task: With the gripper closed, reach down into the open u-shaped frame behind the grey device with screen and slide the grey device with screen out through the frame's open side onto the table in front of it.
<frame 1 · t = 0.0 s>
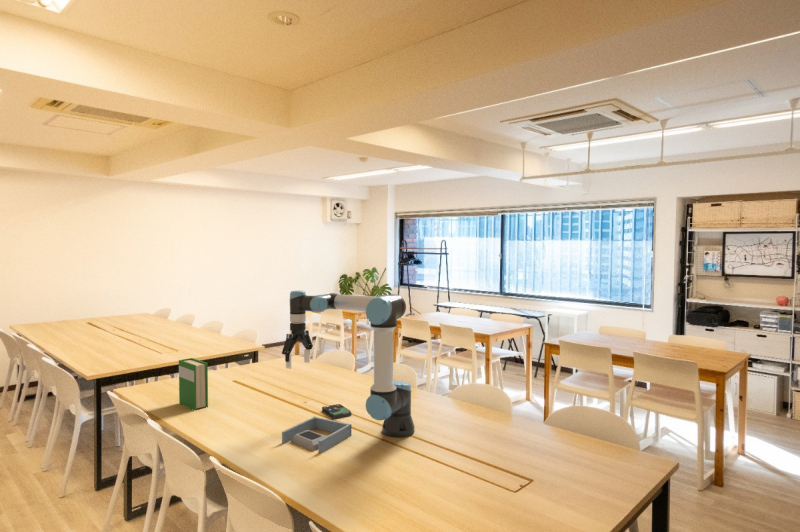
hand: (297, 365, 242), 28 cm above the table, tool pointing down, fingers open, 13 cm apart
open u-shaped frame: (318, 438, 222), on the table
disk drive: (336, 414, 256), on the table
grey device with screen: (310, 444, 217), on the table
hardback book: (193, 405, 267), on the table
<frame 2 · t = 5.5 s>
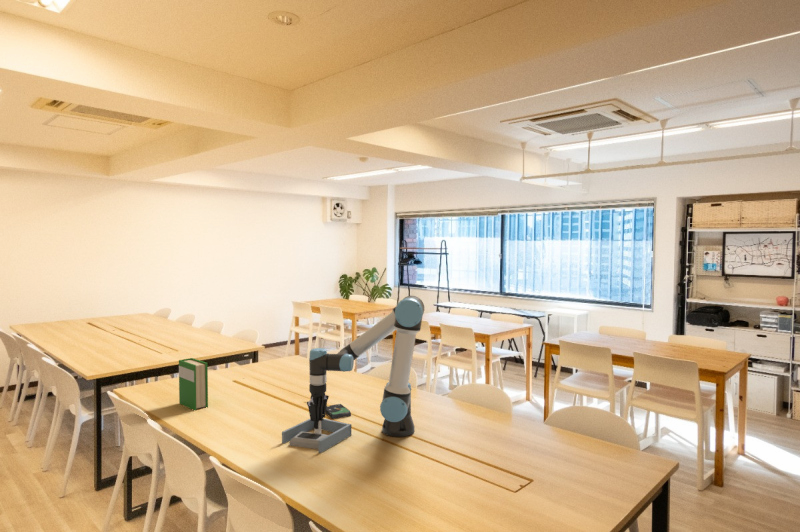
hand: (317, 435, 222), 2 cm above the table, tool pointing down, fingers closed
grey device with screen: (310, 444, 216), on the table, touching gripper
everything else where it was.
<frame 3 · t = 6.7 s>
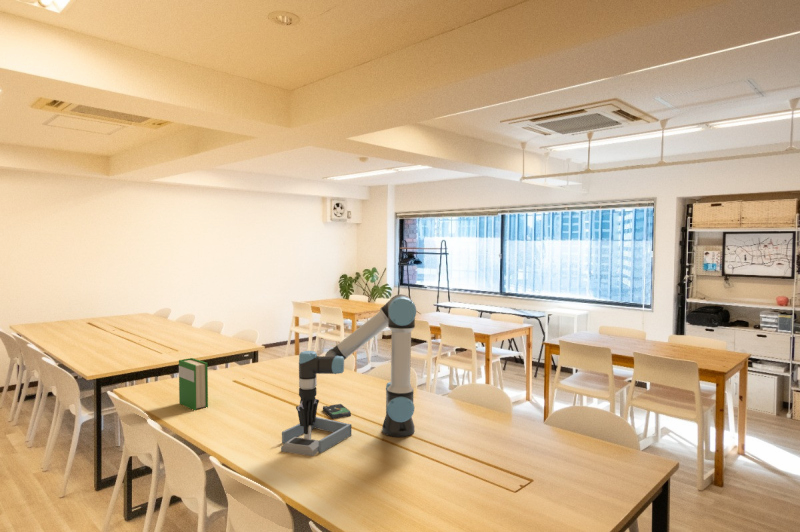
hand: (307, 440, 215), 2 cm above the table, tool pointing down, fingers closed
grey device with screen: (302, 450, 210), on the table, touching gripper
everything else where it was.
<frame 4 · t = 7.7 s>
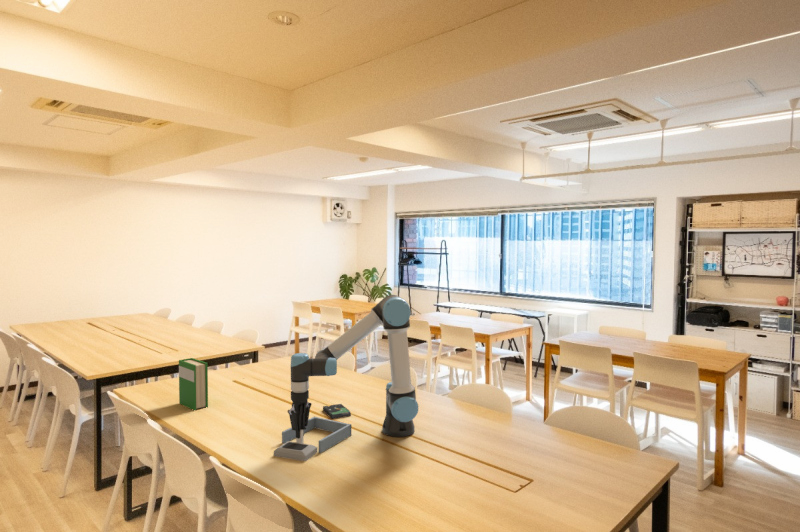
hand: (299, 444, 211), 2 cm above the table, tool pointing down, fingers closed
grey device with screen: (295, 455, 205), on the table, touching gripper
everything else where it was.
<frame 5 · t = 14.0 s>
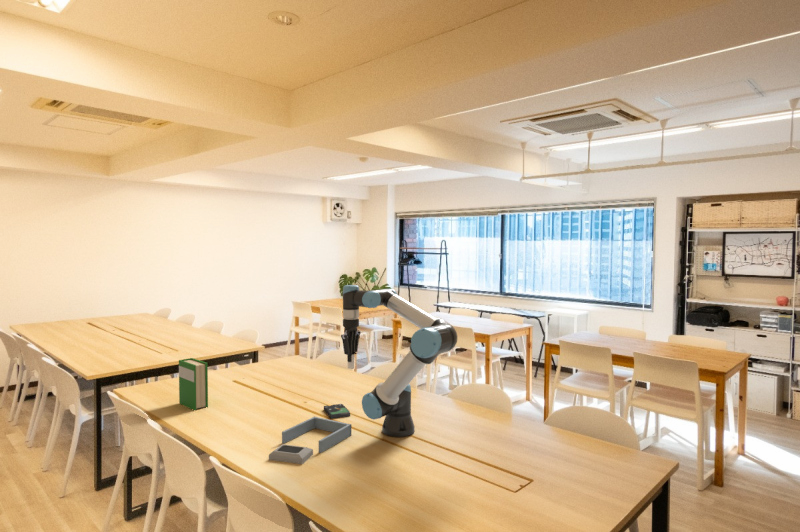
hand: (350, 368, 231), 29 cm above the table, tool pointing down, fingers closed
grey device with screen: (291, 458, 202), on the table
everything else where it was.
at the end: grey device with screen inside the target area (3.2 cm from its centre), on the table; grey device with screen tilted 0°; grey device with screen moved 15.7 cm from its start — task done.
